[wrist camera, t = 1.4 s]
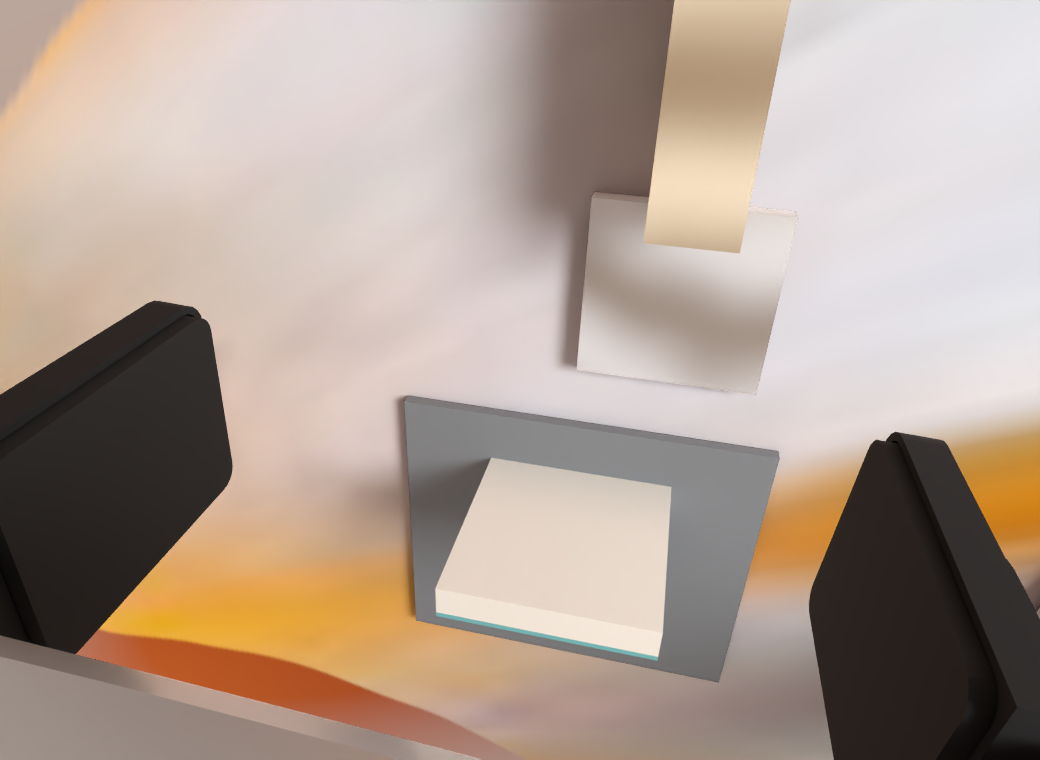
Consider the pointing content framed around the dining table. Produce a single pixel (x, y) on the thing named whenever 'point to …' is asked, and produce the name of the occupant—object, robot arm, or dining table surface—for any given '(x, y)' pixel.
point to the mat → (613, 453)
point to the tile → (562, 558)
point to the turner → (695, 217)
